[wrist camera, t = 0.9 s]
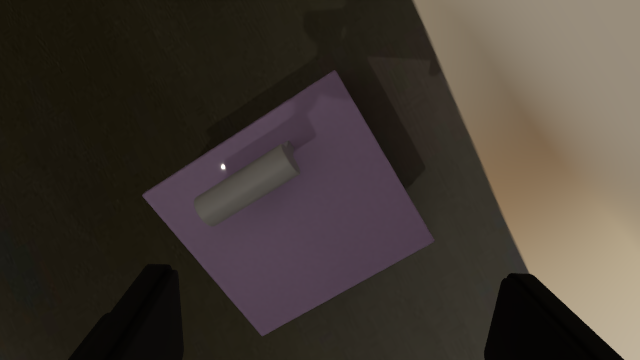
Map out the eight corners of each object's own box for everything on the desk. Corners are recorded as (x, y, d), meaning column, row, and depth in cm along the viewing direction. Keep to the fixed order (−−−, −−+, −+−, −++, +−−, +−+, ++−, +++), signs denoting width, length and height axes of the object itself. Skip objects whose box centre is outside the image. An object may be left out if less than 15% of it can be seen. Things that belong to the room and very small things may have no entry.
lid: (146, 191, 26) (102, 227, 20) (334, 69, 24) (343, 72, 18) (263, 329, 30) (253, 391, 24) (431, 236, 28) (463, 280, 22)
